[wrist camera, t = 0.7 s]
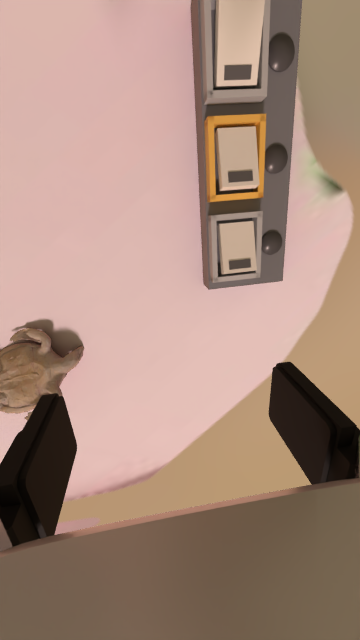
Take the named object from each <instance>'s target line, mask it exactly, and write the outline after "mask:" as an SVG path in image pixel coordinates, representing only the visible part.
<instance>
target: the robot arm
mask: <svg viewBox="0 0 360 640" xmlns="http://www.w3.org/2000/svg"><path fill="white" fill-rule="evenodd" d="M269 417H270V420H271V422H272V423H273V425H274V426H275V428H276V430H277V431H278V432H279V434H280V436H281V437H282V439H283V440H284V442H285V443H286V445H287V447H288V448H289V449H290V451H291V453H292V454H293V456H294V458H295V459H296V461H297V462H298V464H299V465H300V467H301V468H302V470H303V471H304V473H305V475H306V476H307V478H308V479H309V481H310V483H311V484H312V485H307V486H302V487H296V488H291V489H285V490H280V491H275V492H269V493H264V494H259V495H253V496H248V497H242V498H237V499H232V500H227V501H222V502H217V503H212V504H206V505H201V506H196V507H190V508H186V509H181V510H175V511H170V512H165V513H160V514H155V515H150V516H144V517H139V518H135V519H129V520H124V521H119V522H114V523H109V524H104V525H99V526H94V527H90V528H85V529H80V530H76V531H71V532H67V533H62V534H57V535H54V534H55V530H56V526H57V523H58V519H59V515H60V511H61V508H62V504H63V500H64V496H65V493H66V489H67V485H68V481H69V478H70V474H71V470H72V466H73V463H74V459H75V455H76V451H77V443H76V439H75V436H74V432H73V429H72V425H71V422H70V418H69V415H68V411H67V408H66V404H65V401H64V398H63V396H59V395H58V393H53V394H46V395H42V396H41V397H40V399H39V401H38V403H37V405H36V406H35V408H34V410H33V412H32V414H31V416H30V417H29V419H28V421H27V423H26V425H25V427H24V428H23V430H22V431H20V432H19V433H18V434H17V436H16V437H15V439H14V441H13V443H12V444H11V446H10V448H9V450H8V452H7V453H6V455H5V457H4V459H3V460H2V462H1V464H0V640H360V430H359V429H358V428H357V427H356V425H355V423H353V422H352V421H351V420H350V419H349V418H348V417H347V416H346V415H345V414H344V413H343V412H342V411H341V410H340V409H339V408H338V407H337V406H336V405H335V404H334V403H333V402H332V401H331V400H330V399H329V398H328V397H327V396H325V395H324V394H323V393H322V392H321V391H320V390H319V389H318V388H317V387H316V386H315V385H314V384H313V383H312V382H311V381H310V380H309V379H308V378H307V377H306V376H305V375H304V374H303V373H302V372H301V371H300V370H299V369H298V368H296V367H295V366H294V365H293V364H292V363H291V362H283V363H278V364H277V365H276V367H274V368H273V372H272V383H271V394H270V405H269Z"/></svg>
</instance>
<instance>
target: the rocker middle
mask: <svg viewBox="0 0 360 640" xmlns="http://www.w3.org/2000/svg"><path fill="white" fill-rule="evenodd" d="M215 141H216V152H217V164H218V176H219V188H220V191H225V190H238V189H251V188H256V187H257V186H258V185H260V184H259V169H258V154H257V138H256V126H252V127H233V128H217V130H216V133H215Z"/></svg>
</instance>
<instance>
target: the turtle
mask: <svg viewBox="0 0 360 640" xmlns="http://www.w3.org/2000/svg"><path fill="white" fill-rule="evenodd" d="M21 339H24V340H33V341H36V342H39V343H42V344H41V345H38V344H34V343H19V344H13V345H12V346H8V347H5V348H4V349H2V350H1V351H0V411H3V412H5V413H16V414H17V413H22V412H28V411H30V410H32V409H34V408H35V406H36V405H37V403H38V401H39V399H40V397H41V396H42V395H46V394H53V393H58V395H59V396H62V392H61V389H60V388H59V386H60V384H61V382H62V381H63V379H64V378H65V376H66V375H67V372H69V371H70V370H71V369H73V368H74V367H75V366H76V365H77V364H78V363H79V361H80V359H81V357H82V356H83V350H84V347H82V346H81V347H78V348H77V349H75V350H74V351H72V352H71V353H69V354H67V355H66V356H65V357H64V358H63V357H61V356H59V355H58V354H56V353H55V352H54V351H52V348H51V338H50V337H49V336H48V335H47V334H46V333H44V332H42V331H40V330H37V329H31V328H26V329H23V330H20V331H18V332H16V333H15V334H14V335H13V336H12V337H11V339H10V341H12V340H13V342H16V341H17V340H21ZM32 412H33V411H32ZM32 412H29V413H28V416H26V417H25V419H26V420H28V419H29V417H30V416H31V414H32Z"/></svg>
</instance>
